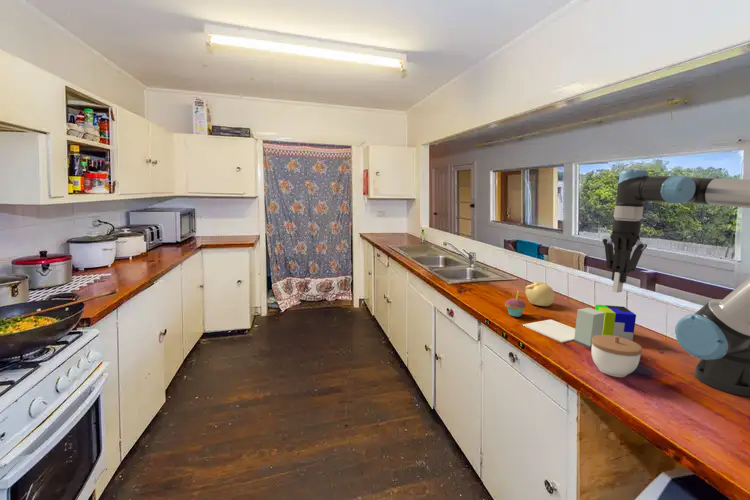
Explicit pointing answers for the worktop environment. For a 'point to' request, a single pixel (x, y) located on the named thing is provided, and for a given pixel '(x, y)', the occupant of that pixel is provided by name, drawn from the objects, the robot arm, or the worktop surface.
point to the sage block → (588, 326)
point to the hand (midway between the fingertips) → (617, 291)
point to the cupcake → (515, 306)
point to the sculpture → (540, 294)
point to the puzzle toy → (618, 321)
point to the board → (553, 330)
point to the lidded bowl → (615, 355)
